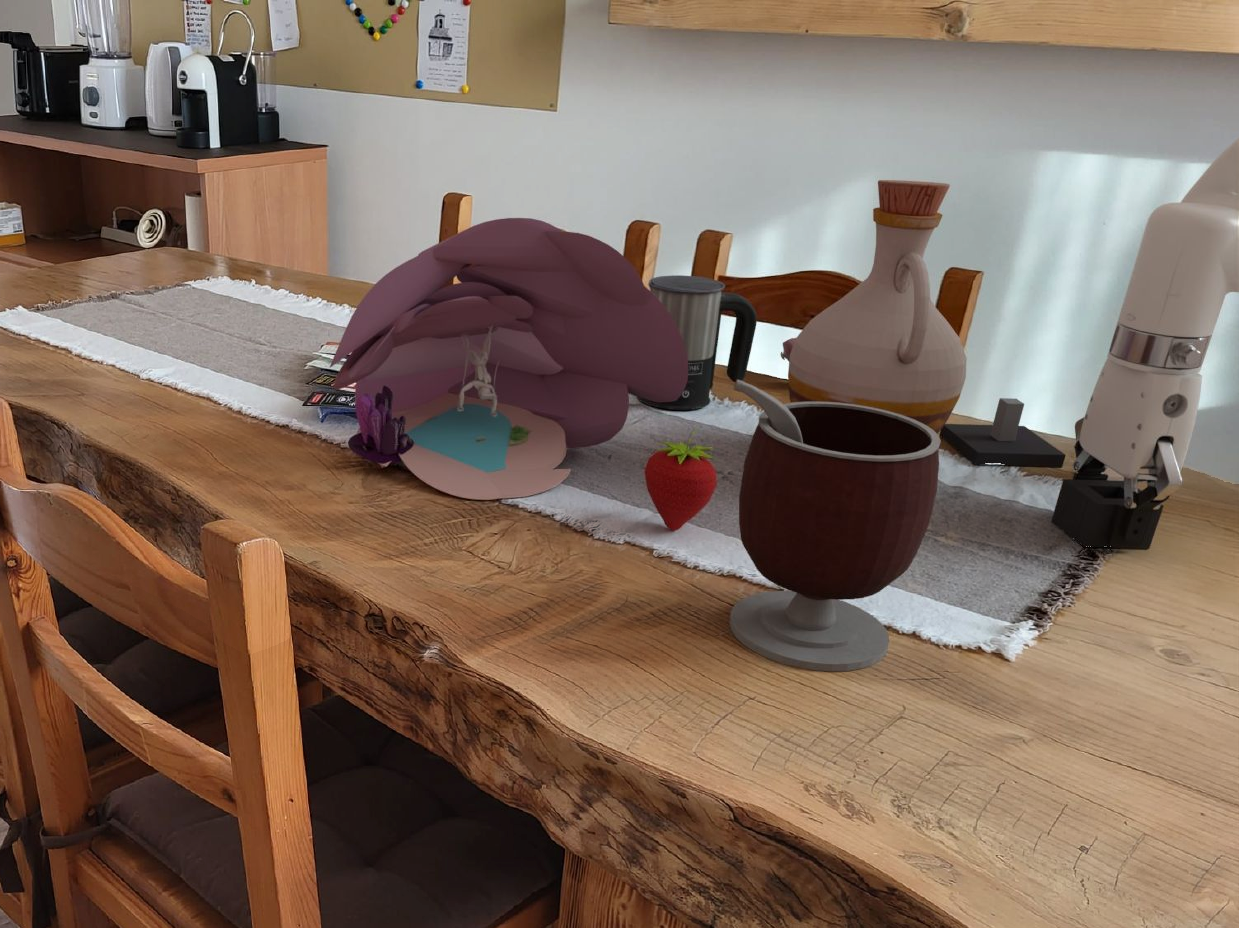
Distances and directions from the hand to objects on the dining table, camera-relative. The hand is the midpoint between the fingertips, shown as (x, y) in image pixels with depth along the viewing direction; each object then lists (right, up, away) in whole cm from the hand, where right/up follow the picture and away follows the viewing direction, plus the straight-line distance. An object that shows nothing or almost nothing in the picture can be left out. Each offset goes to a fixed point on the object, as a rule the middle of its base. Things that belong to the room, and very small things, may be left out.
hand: (1101, 526), depth 113 cm
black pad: (0, -1, 0) cm, 1 cm away
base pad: (0, +10, +22) cm, 24 cm away
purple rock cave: (-59, +7, +12) cm, 61 cm away
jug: (-18, +7, +15) cm, 25 cm away
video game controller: (-15, +22, +45) cm, 52 cm away
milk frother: (-34, +20, +38) cm, 55 cm away
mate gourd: (-35, -10, -20) cm, 42 cm away
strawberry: (-42, -1, -2) cm, 42 cm away
